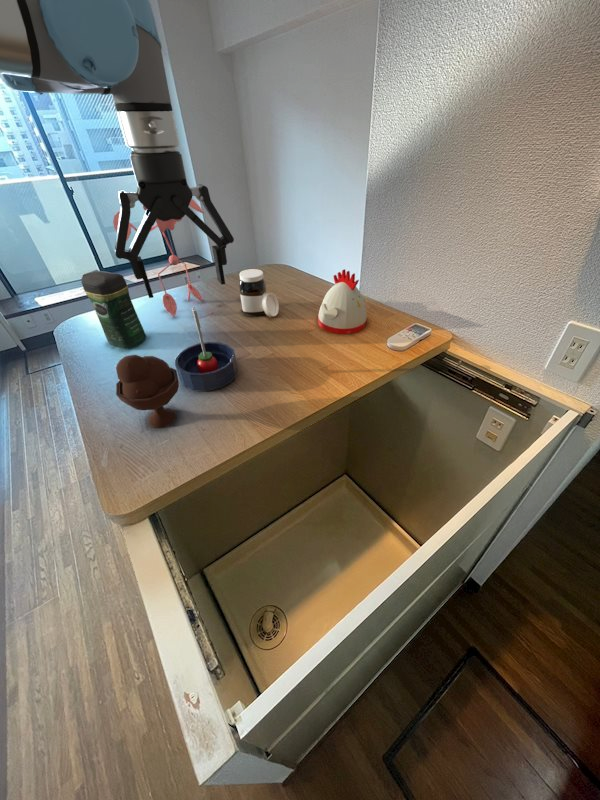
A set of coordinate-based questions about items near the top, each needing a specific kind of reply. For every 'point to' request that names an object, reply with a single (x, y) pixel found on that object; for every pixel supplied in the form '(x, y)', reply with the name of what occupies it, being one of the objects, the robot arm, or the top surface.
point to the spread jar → (256, 294)
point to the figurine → (167, 298)
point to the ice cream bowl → (148, 387)
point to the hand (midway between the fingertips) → (187, 288)
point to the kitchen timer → (343, 306)
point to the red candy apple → (204, 352)
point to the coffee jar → (114, 308)
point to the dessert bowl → (209, 380)
